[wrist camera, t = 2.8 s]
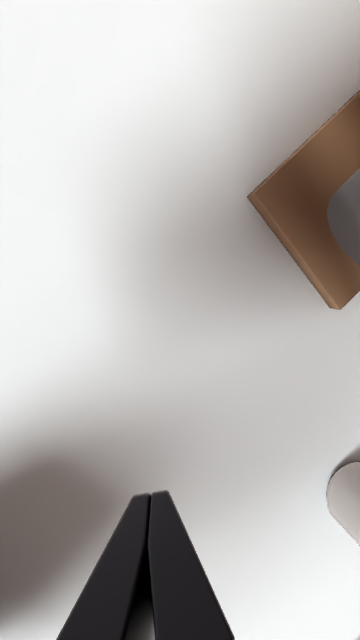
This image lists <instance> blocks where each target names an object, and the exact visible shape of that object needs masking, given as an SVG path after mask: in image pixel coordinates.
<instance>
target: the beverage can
mask: <svg viewBox="0 0 360 640" xmlns="http://www.w3.org/2000/svg"><path fill="white" fill-rule="evenodd" d="M326 496H327V505H328V509H329V512H330V514H331V515H332V516H333V518H334V519H335V520H336V521H337V522H338V523H339V524H340V525H341V526H342V527H343V528H344V530H345V531H346V532H347V533H348V534H349V535H350V536H351V537H352V538H353V539H354V540H355V541H356V542H357V544H358V545H359V546H360V462H353V463H350V464H347V465H345V466H343V467H341V468H340V469H339V470H338V471H337V472H336V473H335V474H334V475H333V477H332V478H331V479H330V482H329V484H328V487H327V492H326Z"/></svg>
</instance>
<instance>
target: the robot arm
mask: <svg viewBox="0 0 360 640" xmlns="http://www.w3.org/2000/svg"><path fill="white" fill-rule="evenodd" d="M56 640H235V638H234V635H233V633H232V631H231V629H230V626H229V624H228V622H227V620H226V618H225V615H224V613H223V611H222V609H221V606H220V604H219V602H218V600H217V598H216V595H215V593H214V591H213V589H212V586H211V584H210V582H209V580H208V578H207V575H206V573H205V571H204V569H203V566H202V564H201V562H200V560H199V558H198V555H197V553H196V551H195V549H194V547H193V544H192V542H191V540H190V538H189V535H188V533H187V531H186V529H185V527H184V524H183V522H182V520H181V518H180V515H179V513H178V511H177V509H176V507H175V504H174V502H173V500H172V498H171V495H170V493H169V492H168V491H167V490H164V491H157V492H153V493H152V494H149V493H144V494H137V495H134V496H133V497H132V499H131V500H130V502H129V504H128V506H127V508H126V510H125V512H124V514H123V515H122V517H121V519H120V521H119V523H118V525H117V527H116V529H115V530H114V532H113V534H112V536H111V538H110V540H109V542H108V544H107V545H106V547H105V549H104V551H103V553H102V555H101V557H100V559H99V560H98V562H97V564H96V566H95V568H94V570H93V572H92V574H91V575H90V577H89V579H88V581H87V583H86V585H85V587H84V589H83V590H82V592H81V594H80V596H79V598H78V600H77V602H76V604H75V605H74V607H73V609H72V611H71V613H70V615H69V617H68V619H67V620H66V622H65V624H64V626H63V628H62V630H61V632H60V634H59V635H58V637H57V639H56Z"/></svg>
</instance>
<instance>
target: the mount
mask: <svg viewBox="0 0 360 640" xmlns="http://www.w3.org/2000/svg"><path fill="white" fill-rule="evenodd" d="M359 168H360V90H359V91H358V92H357V93H356V94H355V95H354V96H353V97H352V98H351V99H350V100H349V101H348V102H347V103H346V104H345V105H344V106H342V107H341V108H340V109H339V110H338V111H337V112H336V113H335V114H334V115H333V116H332V117H331V118H330V119H329V120H328V121H327V122H326V123H325V124H323V125H322V126H321V127H320V128H319V129H318V130H317V131H316V132H315V133H314V134H313V135H312V136H311V137H310V138H309V139H308V140H307V141H306V142H304V143H303V144H302V145H301V146H300V147H299V148H298V149H297V150H296V151H295V152H294V153H293V154H292V155H291V156H290V157H289V158H288V159H287V160H285V161H284V162H283V163H282V164H281V165H280V166H279V167H278V168H277V169H276V170H275V171H274V172H273V173H272V174H271V175H270V176H269V177H268V178H266V179H265V180H264V181H263V182H262V183H261V184H260V185H259V186H258V187H257V188H256V189H255V190H254V191H253V192H252V193H251V194H250V195H249V196H247V197H248V199H249V200H250V201H251V203H252V204H253V205H254V207H255V208H256V209H257V211H258V212H259V213H260V215H261V216H262V217H263V219H264V220H265V222H266V223H267V224H268V226H269V227H270V228H271V230H272V231H273V232H274V234H275V235H276V236H277V238H278V239H279V240H280V242H281V243H282V244H283V246H284V247H285V248H286V250H287V251H288V252H289V254H290V255H291V256H292V258H293V259H294V260H295V262H296V263H297V264H298V266H299V267H300V268H301V270H302V271H303V272H304V274H305V275H306V276H307V278H308V279H309V280H310V282H311V283H312V284H313V286H314V287H315V288H316V290H317V291H318V292H319V294H320V295H321V296H322V298H323V299H324V301H325V302H326V303H327V305H328V306H329V307H330V308H333V309H339V310H341V309H342V308H343V307H344V306H345V305H346V304H347V303H348V302H349V301H350V300H351V299H352V298H353V297H354V296H355V295H356V294H357V293H358V292H359V291H360V266H359V265H358V264H356V263H355V262H354V261H353V260H352V259H351V258H350V257H349V256H348V255H347V254H346V253H345V252H344V251H343V250H342V248H341V247H340V246H339V244H338V243H337V241H336V239H335V238H334V236H333V234H332V232H331V229H330V227H329V223H328V217H327V208H328V203H329V201H330V198H331V197H332V195H333V194H334V193H335V192H336V191H337V190H338V189H339V188H340V187H341V186H342V185H343V184H344V183H345V182H346V181H347V180H348V179H349V178H350V177H351V176H352V175H353V174H354V173H355V172H356V171H357V170H358V169H359Z"/></svg>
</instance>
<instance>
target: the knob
mask: <svg viewBox="0 0 360 640" xmlns="http://www.w3.org/2000/svg"><path fill="white" fill-rule="evenodd" d="M327 217H328V223H329V227H330V229H331V232H332V234H333V236H334V238H335V239H336V241H337V243H338V244H339V246H340V247H341V248H342V250H343V251H344V252H345V253H346V254H347V255H348V256H349V257H350V258H351V259H352V260H353V261H354V262H355V263H356V264H358V265H359V266H360V168H359V169H358V170H357V171H356V172H355V173H354V174H353V175H352V176H351V177H350V178H349V179H348V180H347V181H346V182H345V183H344V184H343V185H342V186H341V187H340V188H339V189H338V190H337V191H336V192H335V193H334V194H333V195H332V197H331V198H330V201H329V203H328V208H327Z"/></svg>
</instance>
